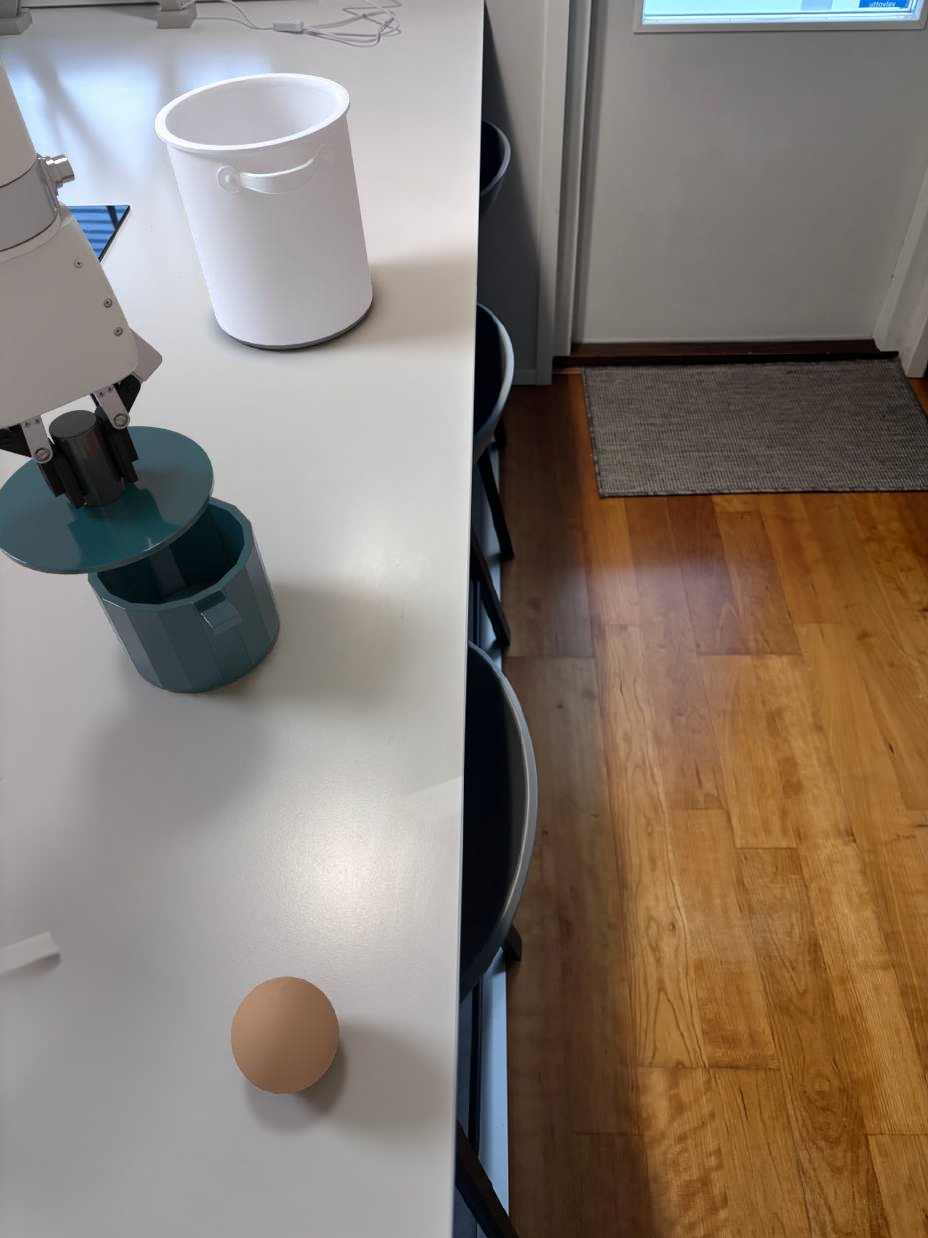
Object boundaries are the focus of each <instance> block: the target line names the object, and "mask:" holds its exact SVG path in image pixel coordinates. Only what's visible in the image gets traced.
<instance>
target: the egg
mask: <svg viewBox="0 0 928 1238" xmlns="http://www.w3.org/2000/svg"><path fill="white" fill-rule="evenodd" d="M339 1037H340V1027H339V1020H338V1016H337V1013H336V1010H335V1008H334V1006H333V1004H332V1002H331V1000H330V999H329V998H328V996H327V995H326V994H325V992H324V991H323V990H321V989H320V988H319V987H318V986H316V985H315V984H314V983H312V982H310V981H309V980H306V979H304V978H300V977H295V976H279V977H273V978H271V979H267V980H265V981H263V982H261V983H259V984H258V985H256V986H255V987H253V989H251V990H250V991H249V992H248V993H247V994H246V996H245V997H243V999H242V1001H241V1002H240V1004H239V1005H238V1007H237V1009H236V1012H235V1014H234V1016H233V1019H232V1023H231V1028H230V1045H231V1052H232V1055H233V1057H234V1061H235V1063H236V1066H237V1068H238V1070H239V1071H240V1072H241V1073H242V1075H243V1076H244V1077H245V1079H246V1080H247V1081H248V1082H250V1083H251V1084H252V1085H254V1086H255V1087H256V1088H258V1089H259V1090H261V1091H264V1092H268V1093H271V1094H275V1095H284V1094H285V1095H286V1094H288V1095H289V1094H295V1093H299V1092H301V1091H303V1090H305V1089H307V1088H309V1087H311V1086H312V1085H314V1084H315V1083H316V1082H318V1081H319V1080H320V1079H321V1078H322V1077H323V1076H324V1074H325V1073H326V1072H327V1071H328V1069H329V1068H330V1066H331V1065H332V1063H333V1061H334V1059H335V1056H336V1053H337V1050H338V1046H339Z"/></svg>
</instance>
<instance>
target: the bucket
mask: <svg viewBox="0 0 928 1238" xmlns="http://www.w3.org/2000/svg"><path fill="white" fill-rule="evenodd" d="M350 108H351V96H350V94H349V92H348V90H347V89H346V88H345V87H344V86H342V85H341V84H340V83H338V82H336V81H334V80H332V79H329V78H326V77H322V76H317V75H313V74H312V75H311V74H306V73H294V72H293V73H290V72H277V73H261V74H260V73H259V74H249V75H244V76H238V77H232V78H228V79H224V80H219V81H217V82H216V81H215V82H212V83H210V84H206V85H204V86H199V87H197V88H195V89H193V90H191V91H188V92H186V93H183V94H182V95H180V96H178V97H176V98H174V99H173V100H171V101H170V102H169V103H167V104H166V105H165V106H163V107H162V108H161V110H160V111H159V112H158V113H157V115H156V117H155V119H154V128H155V133H156V135H157V136H158V137H159V139H160V140H161V141H162V142H164V143H165V145H166V148H167V152H168V154H169V158H170V162H171V166H172V168H173V172H174V175H175V179H176V182H177V186H178V190H179V194H180V197H181V200H182V204H183V206H184V207H183V208H184V210H185V214H186V217H187V222H188V225H189V228H190V232H191V236H192V238H193V242H194V245H195V249H196V253H197V256H198V259H199V263H200V266H201V270H202V273H203V274H202V275H203V277H204V281H205V283H206V287H207V291H208V294H209V298H210V301H211V305H212V309H213V313H214V315H215V318H216V323H218V325H219V326H220V328H221V329H222V331H223V332H224V333H225V334H226V335H227V336H228V337H230V338H231V339H233V340H235V341H237V342H239V343H241V344H244V345H247V346H251V347H255V348H259V349H266V350H293V349H301V348H307V347H310V346H315V345H316V346H317V345H318V344H322V343H325V342H328V341H330V340H333V339H335V338H337V337H339V336H341V335H343V334H345V333H346V332H348V331H349V330H351V329H353V328H354V327H355V326H356V325H357V324H358V323H360V321H361V320H363V318H364V317H366V314H368V312H369V310H370V308H371V304H372V300H373V286H372V279H371V272H370V264H369V258H368V252H367V246H366V238H365V232H364V225H363V224H364V223H363V218H362V212H361V205H360V199H359V191H358V185H357V178H356V171H355V166H354V158H353V152H352V145H351V137H350V131H349V124H348V118H347V117H348V116H347V115H348V113H349V111H350Z"/></svg>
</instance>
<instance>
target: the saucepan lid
mask: <svg viewBox="0 0 928 1238" xmlns="http://www.w3.org/2000/svg"><path fill="white" fill-rule="evenodd" d="M47 429H48V434H49V436H50V439H51V441H52V442H53V443H54V445H55V446H56V447H57V448H58V450H59V451H60V452H61V453H62V454H63V456H64V457H65V459H66V461H67V463H68V465H69V467H70V469H71V471H72V474H73V476H74V478H75V480H76V482H77V484H78V487H79V489H80V491H81V493H82V495H83V497H84V500H85V502H86V503H84V504H83V505H84V506H83V507H80V508H78V509H76V508H75V507H74V506H73V505H72V503H71V502H70V501H69V499H68V498H67V497H66V496H65V494H62V495H60V496H58V497H55V496H54V495H53V493H52V492H51V490H50V489H49V487H48V485H47V484H46V482H45V480H44V478H43V476H42V474H41V472H40V469H39V467H38V465H37V463H36V462H35V461H34V460H33V458H30V459H29V460H28V461H26V462H25V463H23V465H22V466H20V467H19V468H18V469H17V470H16V471H15V472H13V474H12V475H10V476H9V477H8V478H7V480H6V481H5V482H4V484H3V485H2V486H1V488H0V551H1V552H2V554H3V555H5V556H6V557H7V558H8V559H10V560H11V561H12V562H14V563H16V564H17V565H20V566H21V567H23V568H25V569H26V568H27V569H29V570H32V571H34V572H35V571H36V572H40V573H44V574H50V575H51V574H52V575H53V574H54V575H63V576H64V575H66V576H67V575H69V576H70V575H71V576H74V575H86V574H87V575H88V573H95V572H100V571H106V570H110V569H114V568H117V567H121V566H124V565H127V564H130V563H133V562H136V561H138V560H140V559H143V558H145V557H147V556H149V555H151V554H153V553H155V552H157V551H159V550H161V549H162V548H164V547H166V546H167V545H169V544H170V543H172V542H173V541H175V540H176V539H178V538H179V537H180V536H181V535H182V534H184V533H185V532H186V531H187V530H188V529H189V528H190V527H191V526H192V525H193V524H194V523H195V522H196V521H197V520H198V519H199V517H200V516H201V515H202V513H203V512H204V510H205V509H206V507H207V505H208V503H209V502H210V499H211V497H213V493H214V488H215V483H216V482H215V480H216V479H215V471H214V467H213V464H212V460H211V459H210V457H209V454H208V453H207V452H206V450H204V448H203V447H202V446H201V445H200V444H199V443H197V442H196V441H195V440H194V439H192V438H190V437H188V436H187V435H184V434H182V433H180V432H177V431H176V430H171V429H167V428H162V427H157V426H148V425H128V426H127V429H128V432H129V434H130V437H131V439H132V442H133V444H134V447H135V450H136V452H137V455H138V457H139V460H136V461H134V462H132V464H133V467H134V469H135V472H136V474H137V477H138V481H136V482H134V483H132V484H131V483H130V482H129V483H127V482H126V481H125V480H124V479H123V478H122V476H121V474H120V471H119V469H118V467H117V464H116V462H115V459H114V457H113V455H112V452H111V450H110V447H109V445H108V443H107V440H106V438H105V435H104V433H103V431H102V428H101V425H100V423H99V421H98V418H97V416H96V415H95V414H94V412H93V411H91V410H87V409H74V410H70V411H66V412H64V413H62V414H60V415H58V416H57V417H55V418H54V419H53V420H52V421H51V422H50V424H49V426H48V428H47Z"/></svg>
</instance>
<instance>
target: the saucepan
mask: <svg viewBox="0 0 928 1238" xmlns="http://www.w3.org/2000/svg"><path fill="white" fill-rule="evenodd" d="M87 582H88V584H89V585H90V588H91V590H92V592H93V594H94V596H95V598H96V600H97V601H98V603H99V605H100V607H101V609H102V610H103V613H104V615H105V618H106V619H107V621H108V623H109V624H110V627H111V628H112V630H113V632H114V634H115V637H116V638H117V640H118V642H119V644H120V646H121V648H122V649H123V651H124V654H125V655H126V657H127V659H128V660H129V662H130V664H131V665H132V666H133V668H134V670H135V672H136V673H137V674H138V675H139V677H141V678H142V679H143V680H144V681H146V682H147V683H148V684H151V685H152V686H154V687H156V688H159V689H160V690H165V691H169V692H174V693H199V692H201V693H202V692H206V691H210V690H214V689H218V688H221V687H224V686H226V685H228V684H231V683H233V682H235V681H237V680H239V679H241V678H242V677H244V676H246V675H247V674H249V673H250V672H251V671H252V670H253V669H255V668H256V667H257V666H258V665H259V664H260V663H262V661H264V659H265V658H266V657H267V655H268V654H269V653H270V651H271V650H272V648H273V646H274V645H275V643H276V640H277V637H278V634H279V630H280V616H279V615H280V614H279V611H278V607H277V601H276V598H275V595H274V591H273V589H272V586H271V581H270V579H269V576H268V572H267V570H266V566H265V563H264V560H263V557H262V554H261V550H260V547H259V544H258V541H257V538H256V533H255V531H254V527H253V523H252V522H251V521H250V519H248V517H247V516H246V515H245V514H244V513H243V512H242V511H241V510H240V509H239V507H237V506H236V505H234V504H233V503H229V502H227V501H224V500H222V499H219V498H216V497H214V496H211V499H210V502H209V503H208V505H207V507H206V509H205V510H204V512H203V513H202V515H201V516H200V517H199V519H198V520H197V521H196V522H195V523H194V524H193V525H192V526H191V527H190V528H189V529H188V530H187V531H186V532H185V533H184V534H182V535H181V536H180V537H179V538H178V539H176V540H175V541H173V542H172V543H170V544H169V545H167V546H166V547H164V548H162V549H161V550H159V551H157V552H155V553H153V554H151V555H149V556H147V557H145V558H143V559H140V560H138V561H136V562H133V563H130V564H127V565H124V566H121V567H117V568H114V569H110V570H106V571H100V572H95V573H88V574H87Z"/></svg>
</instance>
